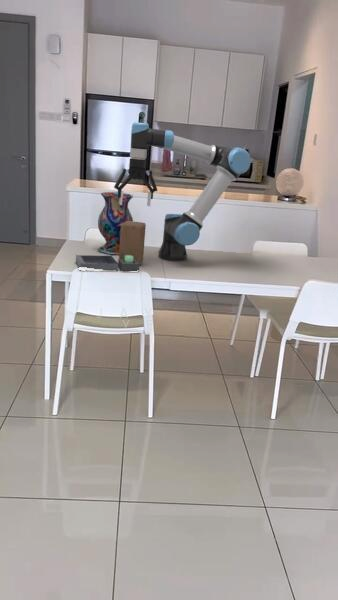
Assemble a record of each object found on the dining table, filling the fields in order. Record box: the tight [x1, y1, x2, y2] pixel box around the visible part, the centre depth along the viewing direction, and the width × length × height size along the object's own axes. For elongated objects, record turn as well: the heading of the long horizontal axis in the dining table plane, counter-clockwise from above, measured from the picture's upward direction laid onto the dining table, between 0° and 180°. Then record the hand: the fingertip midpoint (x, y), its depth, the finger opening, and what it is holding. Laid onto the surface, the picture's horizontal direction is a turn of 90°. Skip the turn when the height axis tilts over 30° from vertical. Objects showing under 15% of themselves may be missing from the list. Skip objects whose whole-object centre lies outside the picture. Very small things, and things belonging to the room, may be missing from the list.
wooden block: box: [118, 220, 147, 266], centre depth 234 cm, size 10×10×20 cm
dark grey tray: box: [75, 254, 119, 272], centre depth 225 cm, size 17×15×4 cm
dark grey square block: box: [117, 258, 140, 272], centre depth 225 cm, size 8×8×4 cm
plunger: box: [124, 255, 134, 263], centre depth 224 cm, size 4×4×5 cm
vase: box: [97, 191, 134, 255], centre depth 253 cm, size 18×18×30 cm
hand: (134, 205), depth 228 cm, fingers open, 13 cm apart
